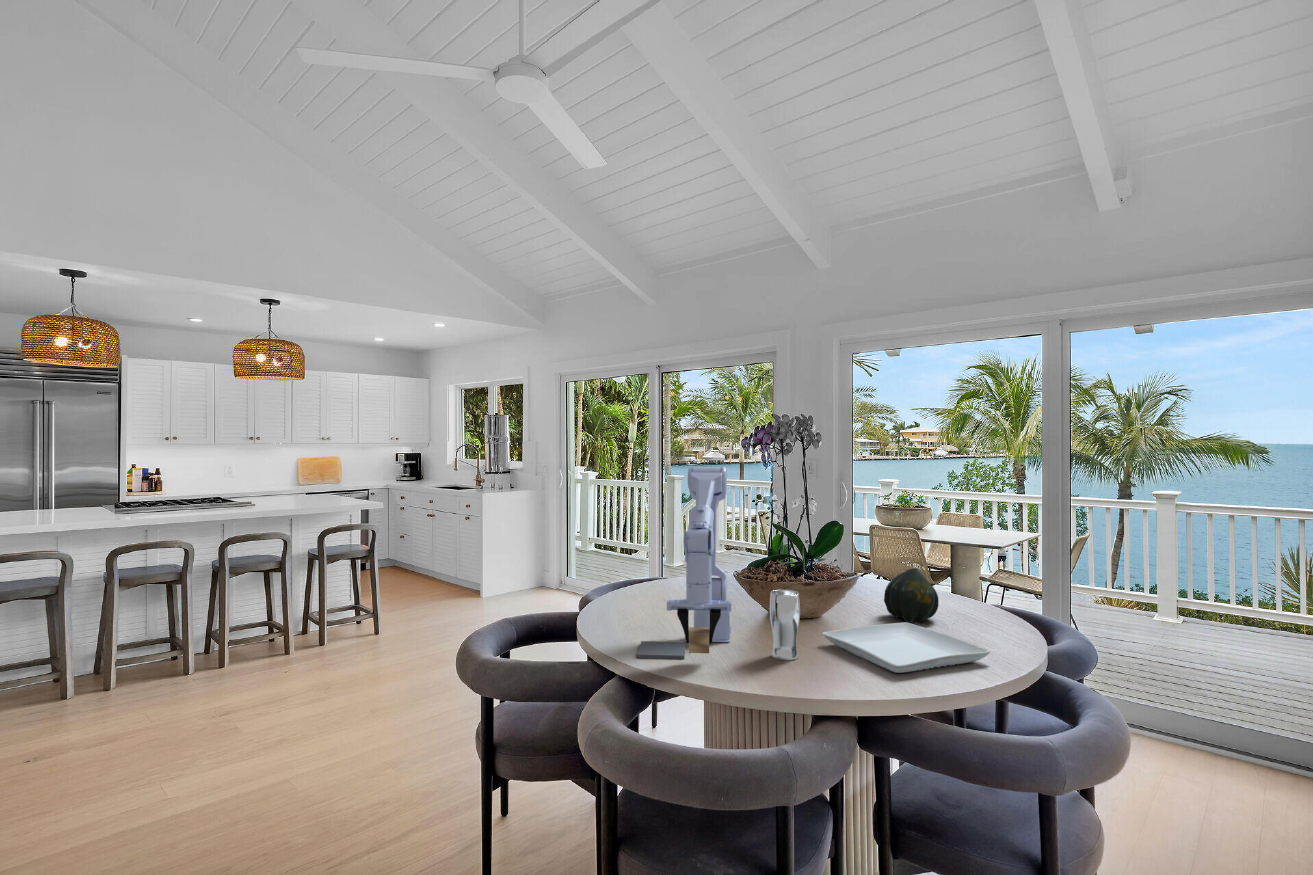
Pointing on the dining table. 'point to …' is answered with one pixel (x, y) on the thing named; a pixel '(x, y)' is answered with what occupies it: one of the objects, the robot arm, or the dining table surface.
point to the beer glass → (784, 623)
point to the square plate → (905, 646)
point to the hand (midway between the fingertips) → (699, 642)
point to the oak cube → (698, 640)
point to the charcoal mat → (661, 650)
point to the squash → (911, 596)
